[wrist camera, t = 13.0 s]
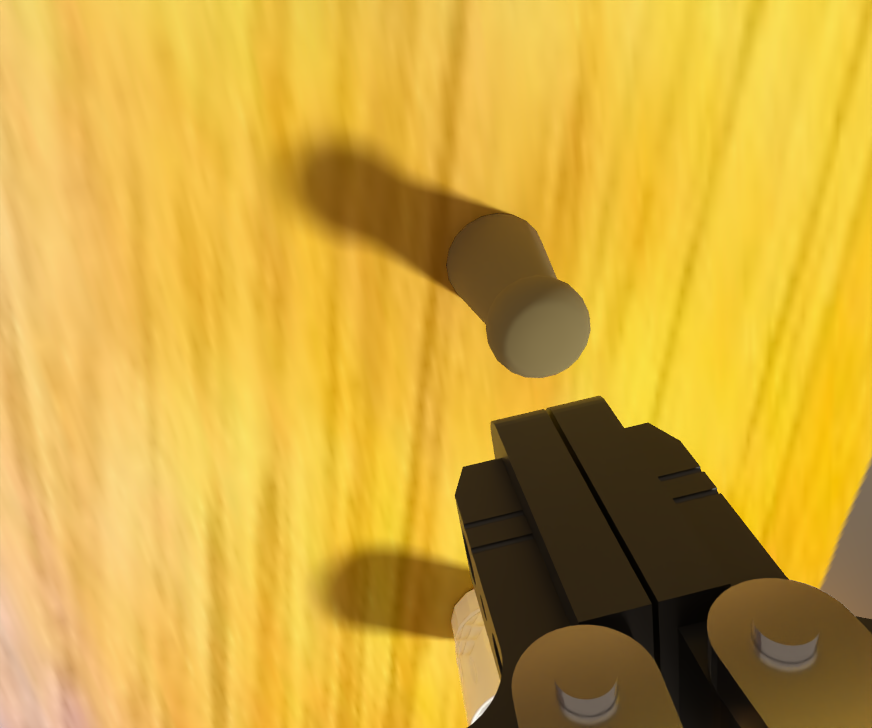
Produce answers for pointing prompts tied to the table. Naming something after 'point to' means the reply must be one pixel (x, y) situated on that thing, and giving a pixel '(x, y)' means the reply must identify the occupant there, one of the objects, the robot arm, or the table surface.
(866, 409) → the table surface
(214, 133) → the table surface
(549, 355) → the cork
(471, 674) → the white cup
